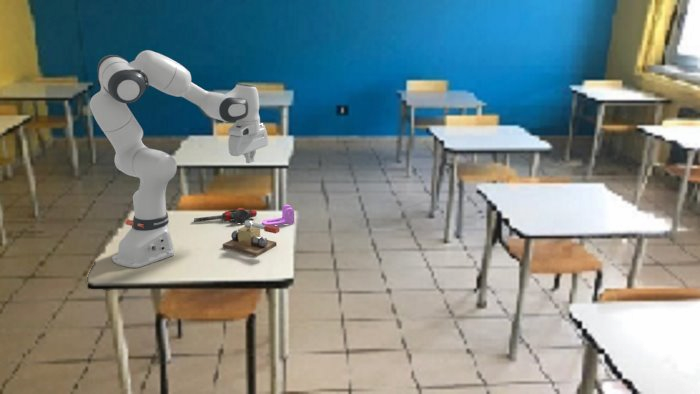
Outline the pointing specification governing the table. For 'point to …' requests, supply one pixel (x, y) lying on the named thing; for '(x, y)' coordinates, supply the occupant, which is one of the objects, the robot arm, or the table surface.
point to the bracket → (286, 217)
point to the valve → (231, 216)
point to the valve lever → (262, 226)
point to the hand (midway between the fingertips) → (250, 162)
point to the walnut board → (248, 248)
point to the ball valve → (249, 237)
